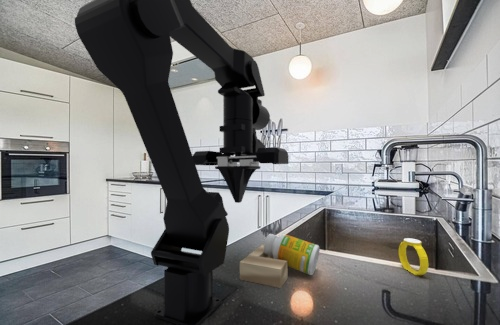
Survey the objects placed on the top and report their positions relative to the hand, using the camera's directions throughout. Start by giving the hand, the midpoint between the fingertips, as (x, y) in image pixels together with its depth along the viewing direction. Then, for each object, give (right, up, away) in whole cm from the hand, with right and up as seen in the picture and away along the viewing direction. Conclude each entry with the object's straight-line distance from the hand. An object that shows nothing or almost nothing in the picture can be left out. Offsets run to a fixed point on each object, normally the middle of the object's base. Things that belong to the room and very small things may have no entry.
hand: (238, 202), depth 46 cm
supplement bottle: (+14, -10, -3) cm, 18 cm away
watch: (+33, -13, -2) cm, 35 cm away
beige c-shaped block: (+7, -13, 0) cm, 15 cm away
